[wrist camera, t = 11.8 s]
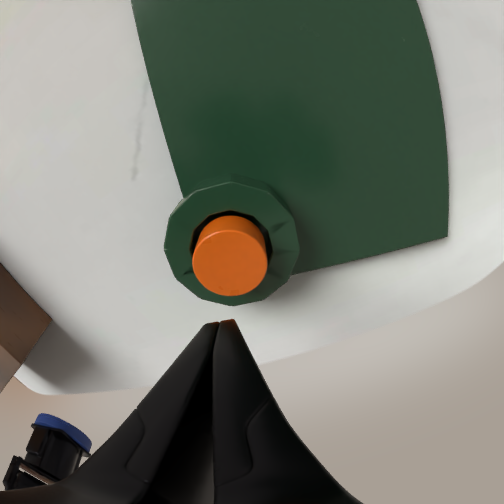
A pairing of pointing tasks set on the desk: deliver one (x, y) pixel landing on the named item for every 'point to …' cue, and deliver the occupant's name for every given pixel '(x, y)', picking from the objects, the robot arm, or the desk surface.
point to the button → (230, 256)
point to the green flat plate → (298, 128)
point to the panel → (17, 326)
